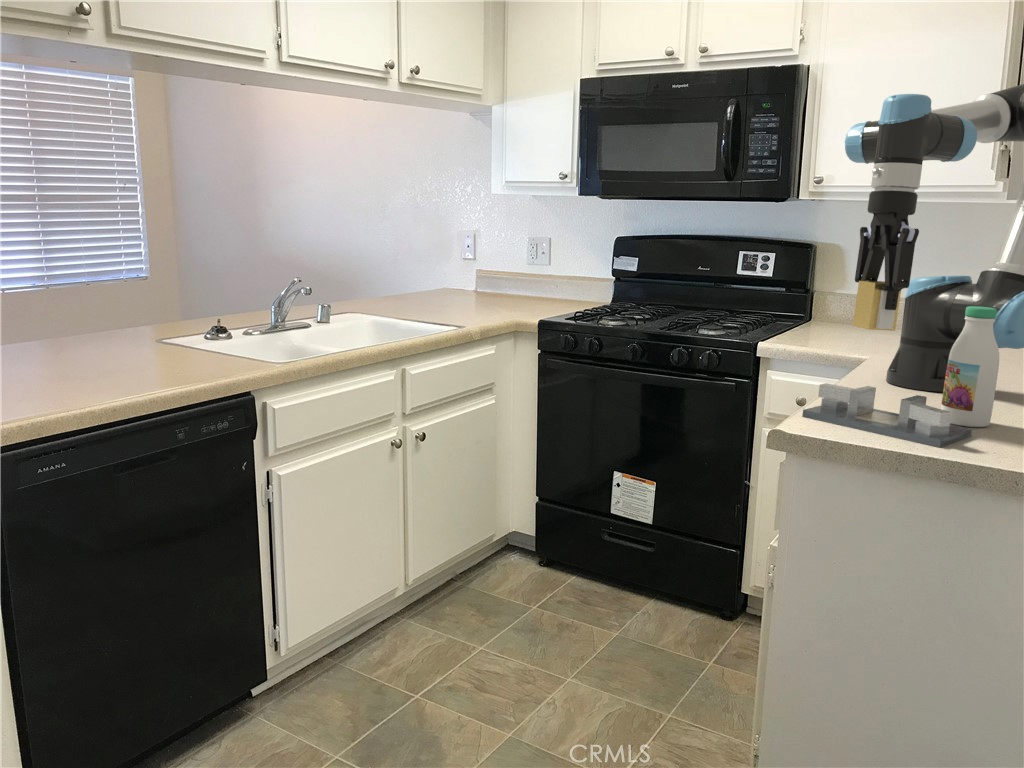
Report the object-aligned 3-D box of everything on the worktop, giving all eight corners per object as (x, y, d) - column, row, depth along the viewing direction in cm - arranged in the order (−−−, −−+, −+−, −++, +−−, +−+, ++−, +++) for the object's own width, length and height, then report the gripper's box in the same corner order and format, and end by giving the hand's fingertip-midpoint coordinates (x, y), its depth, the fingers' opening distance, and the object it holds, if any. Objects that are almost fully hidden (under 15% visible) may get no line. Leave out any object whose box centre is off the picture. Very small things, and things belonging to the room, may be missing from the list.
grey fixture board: (836, 407, 150) (840, 377, 149) (971, 436, 133) (976, 402, 132) (801, 416, 143) (805, 384, 141) (939, 447, 126) (945, 411, 124)
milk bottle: (973, 417, 146) (990, 305, 142) (999, 429, 139) (1018, 310, 135) (930, 416, 146) (946, 304, 142) (954, 427, 138) (972, 309, 134)
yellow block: (878, 327, 148) (885, 281, 146) (895, 330, 143) (902, 283, 141) (852, 325, 147) (859, 279, 145) (868, 329, 142) (875, 281, 140)
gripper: (844, 190, 148) (827, 319, 153) (906, 187, 131) (885, 332, 135) (883, 193, 150) (865, 320, 154) (949, 190, 132) (926, 334, 136)
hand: (874, 326), depth 145 cm, fingers closed on yellow block, 5 cm apart
